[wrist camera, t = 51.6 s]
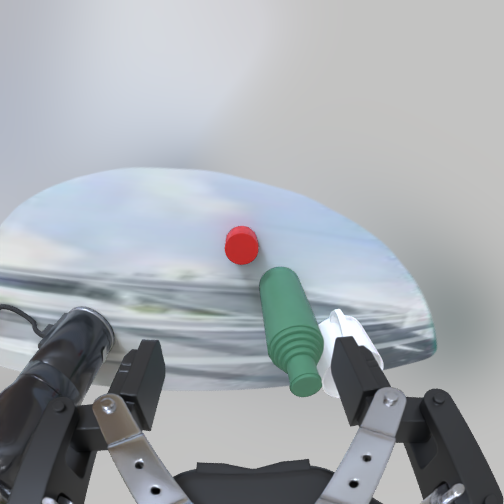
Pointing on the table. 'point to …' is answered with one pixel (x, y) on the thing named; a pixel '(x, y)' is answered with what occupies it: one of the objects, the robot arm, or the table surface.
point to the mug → (330, 331)
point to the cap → (241, 245)
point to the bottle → (291, 330)
